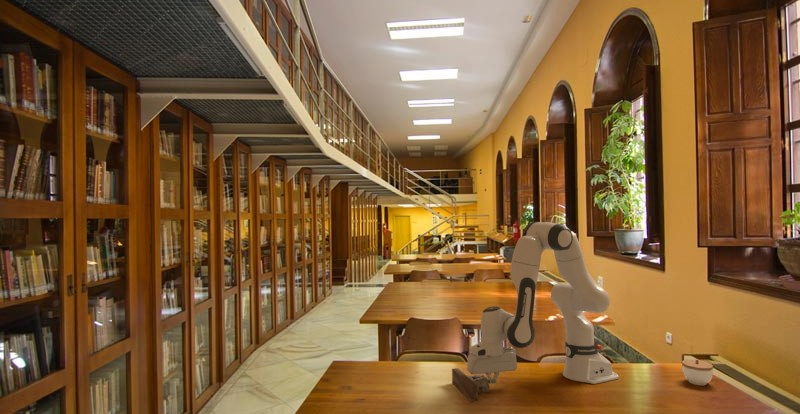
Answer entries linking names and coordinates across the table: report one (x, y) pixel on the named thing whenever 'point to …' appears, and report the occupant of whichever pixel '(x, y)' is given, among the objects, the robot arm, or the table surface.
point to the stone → (480, 383)
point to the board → (464, 385)
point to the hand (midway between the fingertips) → (492, 383)
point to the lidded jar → (697, 371)
